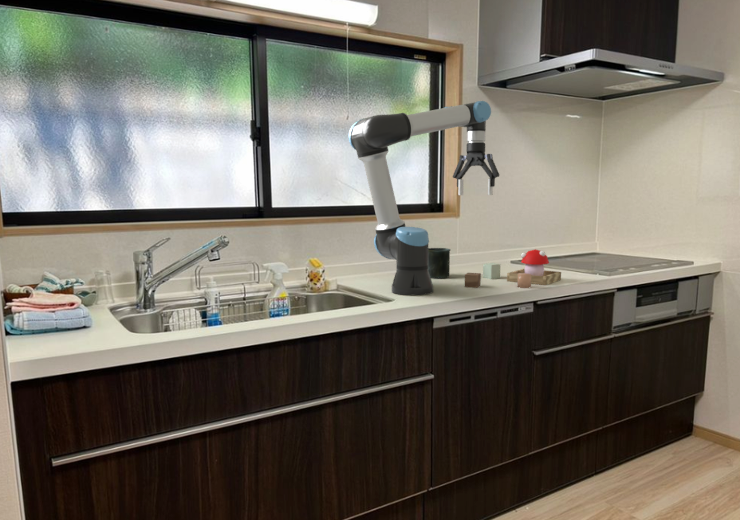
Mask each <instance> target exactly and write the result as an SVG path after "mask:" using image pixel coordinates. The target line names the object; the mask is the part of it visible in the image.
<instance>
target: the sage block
mask: <svg viewBox="0 0 740 520" xmlns="http://www.w3.org/2000/svg"><path fill="white" fill-rule="evenodd" d="M482 264H483V265H482V266H483V267H482V278H483V279H487V280H497V279H501V263H495V262H488V263H482Z"/></svg>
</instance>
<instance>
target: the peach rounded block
mask: <svg viewBox="0 0 740 520" xmlns="http://www.w3.org/2000/svg"><path fill="white" fill-rule="evenodd" d="M516 283H517V288H519V287H520V289H530V288H529V287H531V288H532V284H531V274H529V273H518V282H516Z"/></svg>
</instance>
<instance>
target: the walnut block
mask: <svg viewBox="0 0 740 520" xmlns="http://www.w3.org/2000/svg"><path fill="white" fill-rule="evenodd" d="M481 275H482V274H481V272H466V273H465V274H464V288H472V289H473V288H474V289H478V288H480V287H481V283H482V281H481V279H482V278H481V277H482V276H481Z"/></svg>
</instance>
